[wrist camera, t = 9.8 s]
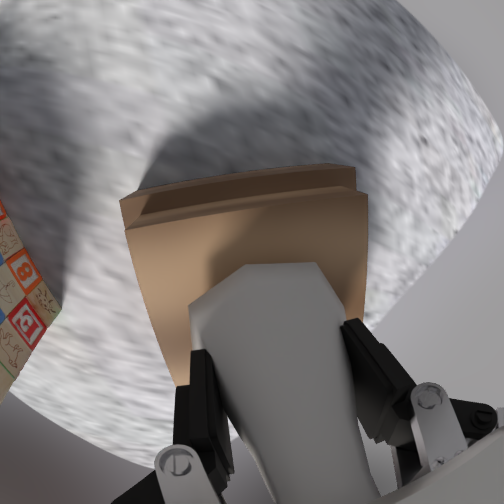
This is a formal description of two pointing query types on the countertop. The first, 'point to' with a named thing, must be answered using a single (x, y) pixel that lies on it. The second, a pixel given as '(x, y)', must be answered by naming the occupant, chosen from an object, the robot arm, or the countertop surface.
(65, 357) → the countertop surface
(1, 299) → the stack of blocks
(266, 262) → the stepped wooden pedestal
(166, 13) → the countertop surface
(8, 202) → the countertop surface
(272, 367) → the flask
